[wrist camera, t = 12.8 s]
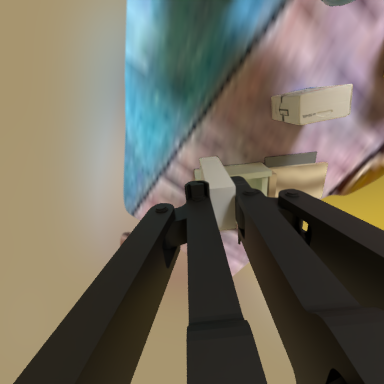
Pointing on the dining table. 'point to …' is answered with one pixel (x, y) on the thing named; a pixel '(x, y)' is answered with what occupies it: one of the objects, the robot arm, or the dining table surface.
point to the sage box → (247, 174)
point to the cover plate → (298, 179)
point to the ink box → (312, 104)
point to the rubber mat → (290, 159)
